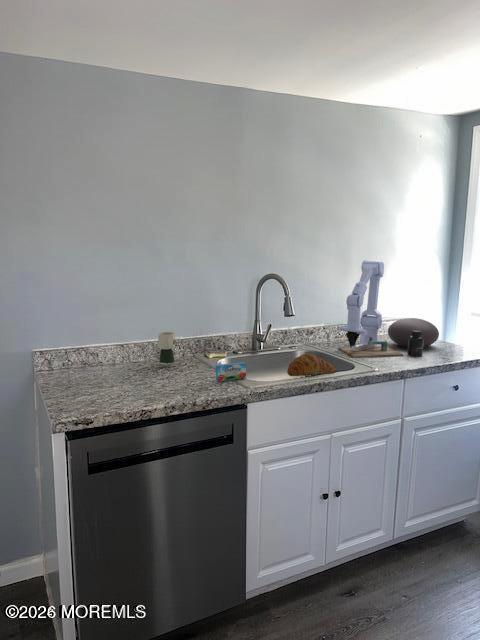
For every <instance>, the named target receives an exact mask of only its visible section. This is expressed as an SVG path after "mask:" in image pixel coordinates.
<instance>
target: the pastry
mask: <svg viewBox="0 0 480 640" xmlns="http://www.w3.org/2000/svg"><path fill="white" fill-rule="evenodd" d="M336 371H337V370H336V367H334V366H333V365H332V364H331V363H330V362H328V361H326V360H324V359H323V358H320V357H318V356H317V355H312V354H311V353H309V352H307V353H303V354H301V355H299V356H297V357H295V358H294V359H293V360H292V361H291V362H290V364H289V365H288V368H287V372H286V373H287V375H288V376H289V377H301V376H302V377H303V376H306V377H307V376H316V375H323V374H327V375H328V374H334V373H336Z"/></svg>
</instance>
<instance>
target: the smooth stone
mask: <svg viewBox="0 0 480 640" xmlns="http://www.w3.org/2000/svg"><path fill="white" fill-rule="evenodd" d="M412 330H418V331H422V337H423V338H424V345H423V348H425V347H428V346H429V347H430V346H431V345H433V344H435V343H436V342H437V341H438V340H439V337H440V332H439V330H438V328H437V326H436V325H434V324H433V323H432V322H430V321H428V320H425V319H422V318H416V317H405V318H402V319H398V320H396V321H394V322H391V324H390V325H389V326H388V328H387V334H388V335H387V336H388V338H389V339H390V340H391V341H393V342H394V343H395V344H396V345H399V346H402V347H404V348H408V340H409V337H410V336H412V335H411V332H412Z"/></svg>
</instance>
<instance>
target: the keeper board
mask: <svg viewBox="0 0 480 640" xmlns="http://www.w3.org/2000/svg"><path fill="white" fill-rule="evenodd" d="M368 344H370V345H374V344H377V345H380V346H374V348H370V349H366V350H361V351H356V352H355V351H351V350H352V348H350V346H338V350H339V351H341V352H343V353H344V354H346V355H348V356H350V357H351V358H355V359H358V358H359V359H360V358H361V359H362V358H363V359H364V358H391V357H404V353H401V352H400V351H397V350H395V349H393V348H391V347H388V341H386V340H377V341H368Z"/></svg>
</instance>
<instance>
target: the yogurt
mask: <svg viewBox="0 0 480 640" xmlns="http://www.w3.org/2000/svg"><path fill="white" fill-rule="evenodd" d="M241 378H243V379H241ZM235 379H239V380H245V379H247V363H246V362H243V361H242V362H233V363H222V364H215V381H216V382H217V383H220V382H229V381H236V380H235Z"/></svg>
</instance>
